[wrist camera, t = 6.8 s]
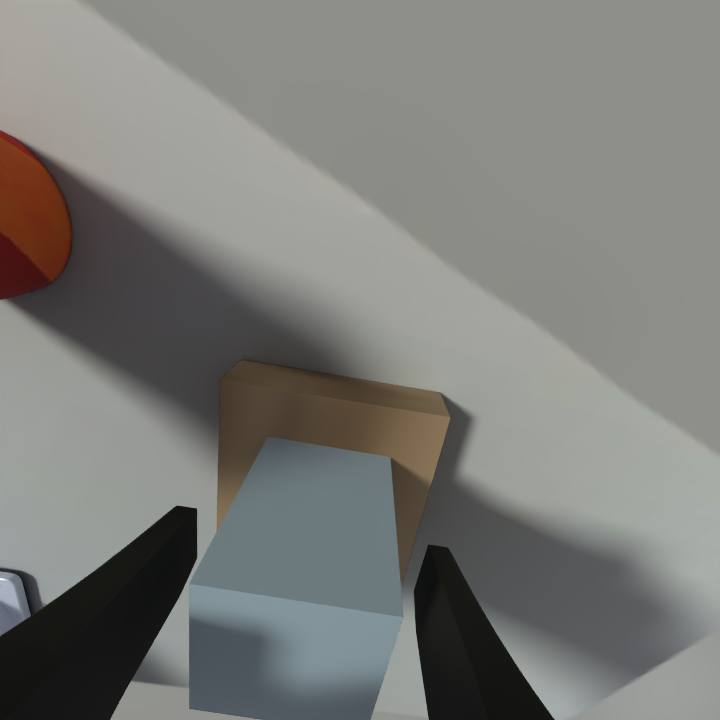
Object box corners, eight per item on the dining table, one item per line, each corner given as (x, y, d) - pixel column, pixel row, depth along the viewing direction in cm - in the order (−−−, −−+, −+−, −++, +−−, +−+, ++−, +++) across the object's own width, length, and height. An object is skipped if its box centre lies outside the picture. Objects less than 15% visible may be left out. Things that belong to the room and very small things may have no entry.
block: (259, 530, 14) (189, 708, 8) (268, 436, 12) (188, 583, 7) (368, 547, 14) (365, 735, 9) (390, 456, 12) (403, 617, 7)
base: (234, 515, 16) (216, 551, 14) (241, 359, 13) (219, 379, 11) (399, 540, 16) (403, 580, 14) (439, 392, 13) (450, 417, 12)
